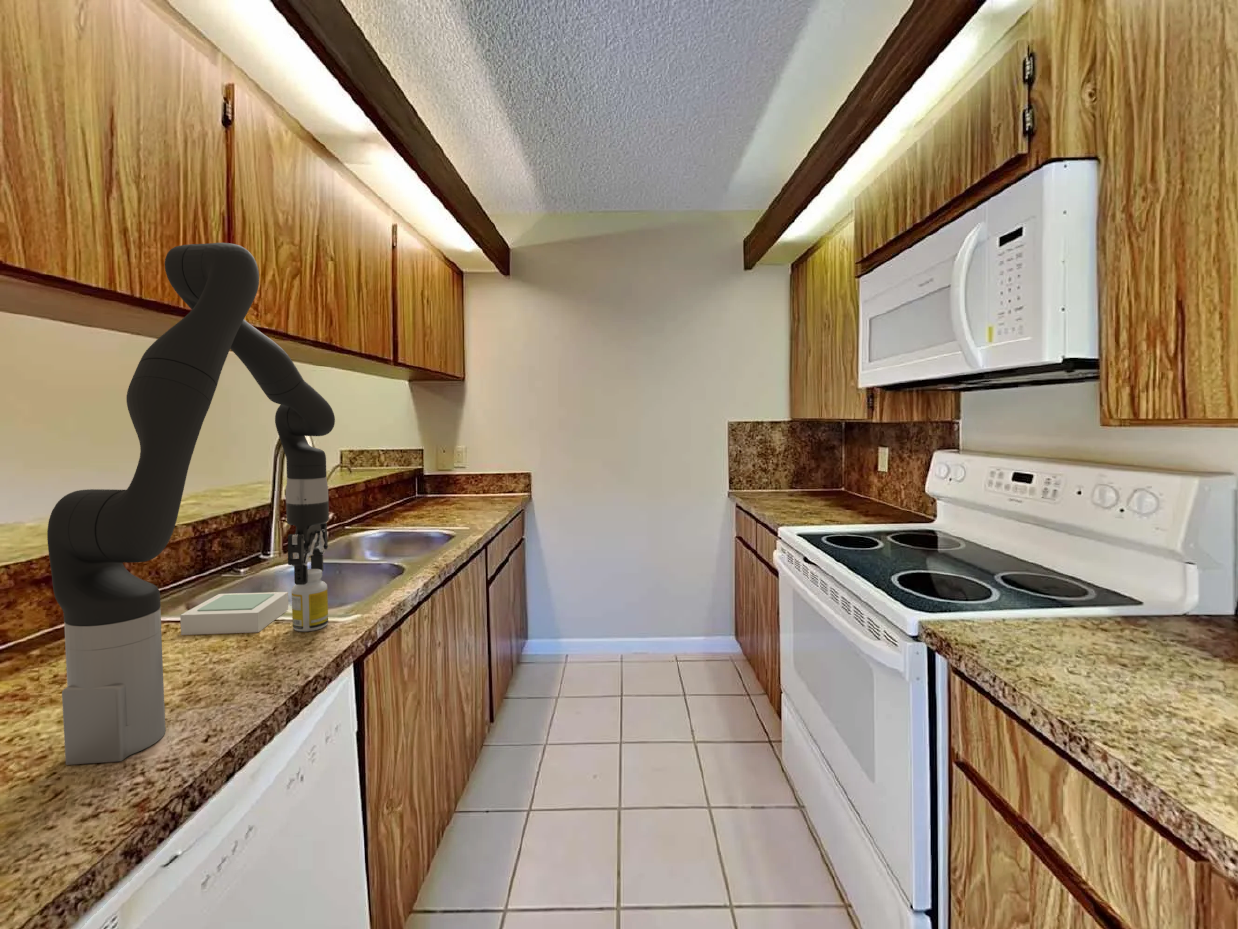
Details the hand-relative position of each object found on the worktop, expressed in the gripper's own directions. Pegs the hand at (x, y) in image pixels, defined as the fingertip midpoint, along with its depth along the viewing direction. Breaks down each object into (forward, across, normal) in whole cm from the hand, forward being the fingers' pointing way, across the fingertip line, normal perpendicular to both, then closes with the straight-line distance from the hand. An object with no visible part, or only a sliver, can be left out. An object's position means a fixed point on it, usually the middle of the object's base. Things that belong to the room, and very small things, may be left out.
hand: (309, 578), depth 116 cm
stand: (+10, +5, +16) cm, 20 cm away
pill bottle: (+10, 0, 0) cm, 10 cm away
